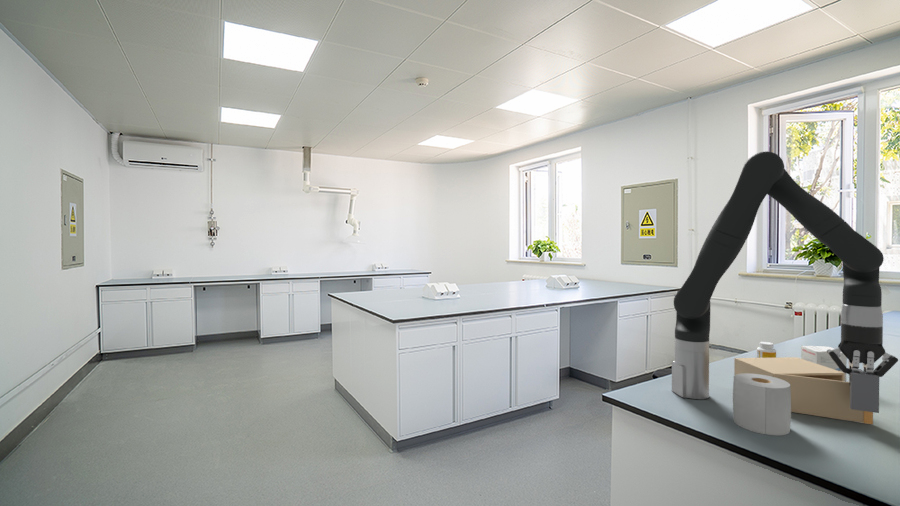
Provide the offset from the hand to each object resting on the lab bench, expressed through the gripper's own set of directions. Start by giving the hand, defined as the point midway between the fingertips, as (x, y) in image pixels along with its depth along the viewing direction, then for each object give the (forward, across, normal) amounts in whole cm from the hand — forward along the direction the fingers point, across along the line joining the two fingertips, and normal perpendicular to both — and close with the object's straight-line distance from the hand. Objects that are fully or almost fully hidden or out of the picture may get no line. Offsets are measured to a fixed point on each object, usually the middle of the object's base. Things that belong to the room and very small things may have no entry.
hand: (860, 390), depth 106 cm
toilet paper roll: (+9, -22, -11) cm, 26 cm away
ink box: (+9, 0, +36) cm, 38 cm away
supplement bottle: (+9, -14, +44) cm, 47 cm away
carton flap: (+9, -7, 0) cm, 11 cm away
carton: (+9, -13, +15) cm, 22 cm away
